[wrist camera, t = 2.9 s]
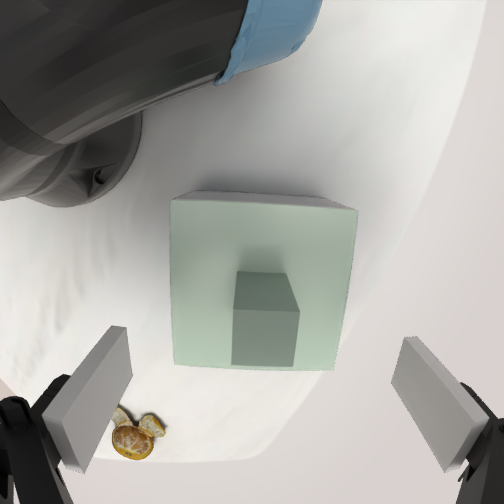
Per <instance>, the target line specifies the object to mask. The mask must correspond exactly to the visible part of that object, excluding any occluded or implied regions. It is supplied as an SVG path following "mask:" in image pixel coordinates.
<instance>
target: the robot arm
mask: <svg viewBox="0 0 504 504" xmlns="http://www.w3.org/2000/svg"><path fill="white" fill-rule="evenodd" d="M321 4H322V0H0V201H4V200H9V199H14V198H19V197H23V196H25V197H27V198H30V199H32V200H35V201H37V202H40V203H42V204H45V205H48V206H52V207H73V206H77V205H81V204H85V203H89V202H91V201H94V200H96V199H98V198H100V197H101V196H103V195H104V194H106V193H107V192H108V191H110V190H111V189H112V188H113V187H114V186H115V185H116V184H117V183H118V182H119V181H120V179H121V178H122V177H123V175H124V174H125V173H126V171H127V169H128V168H129V166H130V164H131V162H132V160H133V158H134V156H135V153H136V150H137V147H138V143H139V139H140V133H141V110H144V109H146V108H148V107H151V106H153V105H156V104H158V103H161V102H163V101H166V100H168V99H171V98H173V97H176V96H179V95H181V94H184V93H187V92H190V91H192V90H195V89H198V88H201V87H204V86H207V85H210V84H213V85H215V86H217V85H220V84H223V83H225V82H227V81H228V80H230V79H231V77H232V76H233V75H236V74H239V73H242V72H245V71H248V70H251V69H254V68H257V67H260V66H263V65H266V64H270V63H273V62H276V61H279V60H282V59H284V58H286V57H288V56H289V55H291V54H292V53H294V52H295V51H296V50H297V49H298V48H299V47H300V45H301V44H302V43H303V42H304V40H305V39H306V36H307V35H309V33H310V32H311V31H312V29H313V27H314V25H315V22H316V20H317V17H318V14H319V11H320V7H321ZM132 376H133V374H132V368H131V361H130V353H129V346H128V338H127V329H126V327H119V326H111V327H110V328H109V329H108V330H107V332H106V333H105V334H104V335H103V337H102V338H101V339H100V340H99V341H98V343H97V344H96V345H95V346H94V348H93V349H92V350H91V351H90V353H89V354H88V355H87V356H86V358H85V359H84V360H83V361H82V363H81V364H80V365H79V367H78V368H77V369H76V370H75V372H74V373H73V374H72V376H70V375H66V374H63V375H61V376H59V377H58V378H56V379H54V380H53V381H52V383H51V384H50V385H49V386H48V389H46V390H45V391H44V392H43V395H41V396H40V397H39V399H38V400H37V401H36V402H35V404H34V405H33V406H32V407H31V408H30V406H29V404H28V402H27V400H25V399H24V398H22V397H18V396H10V397H7V398H4V399H3V400H1V401H0V504H14V502H13V494H14V491H13V490H14V484H15V488H16V491H17V495H18V499H19V502H20V504H73V501H72V499H71V497H70V495H69V492H68V490H67V488H66V485H65V483H64V480H63V478H62V475H61V473H60V471H59V468H58V467H57V466H58V464H59V462H60V460H61V459H62V461H63V463H64V465H65V467H66V468H67V469H69V470H73V471H75V472H79V473H82V474H85V471H86V469H87V467H88V465H89V463H90V461H91V458H92V457H93V454H94V452H95V450H96V448H97V446H98V444H99V442H100V440H101V438H102V436H103V434H104V432H105V430H106V428H107V426H108V424H109V422H110V420H111V418H112V416H113V414H114V412H115V410H116V408H117V406H118V404H119V402H120V400H121V398H122V396H123V394H124V392H125V390H126V388H127V386H128V384H129V382H130V380H131V378H132ZM391 384H392V385H393V387H394V389H395V390H396V392H397V393H398V395H399V397H400V398H401V400H402V402H403V403H404V405H405V406H406V408H407V410H408V411H409V413H410V414H411V416H412V418H413V420H414V421H415V423H416V425H417V426H418V428H419V430H420V431H421V433H422V435H423V436H424V438H425V440H426V441H427V443H428V445H429V447H430V448H431V450H432V452H433V454H434V455H435V457H436V459H437V461H438V462H439V464H440V466H441V468H442V469H443V471H444V473H446V472H449V471H452V470H455V469H458V468H460V466H461V465H462V463H463V461H464V460H465V458H466V459H467V460H468V462H469V465H468V466H467V467H466V469H465V470H464V472H463V473H462V475H461V476H460V477H459V479H458V482H460V481H461V479H462V478H463V481H462V485H461V488H460V491H459V495H458V498H457V501H456V504H504V418H501V419H498V418H497V417H496V416H495V415H494V414H493V412H492V411H491V410H490V409H489V408H488V407H487V405H486V404H485V403H484V402H483V401H482V400H481V399H480V397H479V396H477V394H476V393H475V392H474V391H473V390H472V388H470V387H469V386H467V385H466V384H464V383H462V382H461V383H459V382H458V381H457V380H456V378H455V377H454V376H453V375H452V374H451V373H450V372H449V371H448V370H447V368H446V367H445V366H444V365H443V364H442V363H441V362H440V361H439V360H438V358H437V357H436V356H435V355H434V354H433V353H432V352H431V351H430V350H429V349H428V348H427V347H426V345H424V343H423V342H422V341H421V340H420V339H419V338H418V337H417V336H415V337H404V340H403V344H402V347H401V351H400V355H399V358H398V361H397V365H396V368H395V371H394V375H393V378H392V381H391Z"/></svg>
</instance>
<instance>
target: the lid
mask: <svg viewBox="0 0 504 504" xmlns="http://www.w3.org/2000/svg"><path fill="white" fill-rule="evenodd" d="M357 219H358V211H357V210H354V209H345V208H333V207H320V206H307V205H293V204H278V203H262V202H243V201H222V200H197V199H172V200H170V288H171V317H172V337H173V354H174V364H175V365H185V366H197V367H210V368H225V369H245V370H280V371H316V370H333V369H334V365H335V360H336V355H337V350H338V345H339V340H340V335H341V329H342V324H343V318H344V313H345V307H346V301H347V294H348V288H349V281H350V275H351V268H352V260H353V253H354V245H355V237H356V228H357Z"/></svg>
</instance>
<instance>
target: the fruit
mask: <svg viewBox="0 0 504 504" xmlns="http://www.w3.org/2000/svg"><path fill="white" fill-rule="evenodd" d="M111 420H112V421H113V422H114V423H115V424H116V426H117V427H116V428H115V429H114V430H113V433H112V444H113V447H114V448H115V450H116V451H117V452H118V453H119V454H121V455H123V456H124V457H127V458H129V459H133V460H141V459H144V458H146V457H147V456H148V455H149V454H150V453H151V452H152V450H153V448H154V447H153V445H154V443H153V437H163V436H164V435H165V433H166V432H165V429H164V428H162V426H161V424H160V422H159V421H158V420H157V419H155V417H153V416H152V415H148V416H145V417H144V418H143V419H141V420H140V421H139V422H140V423H139V427H136V426H134V425H132V422H131V421H130V419H129V418H128V416H127V414H126V413H125V412H124V411H123V410H122V409H120V408H118V407H117V408H116V410H115V412H114V414H113V416H112V418H111Z"/></svg>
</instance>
